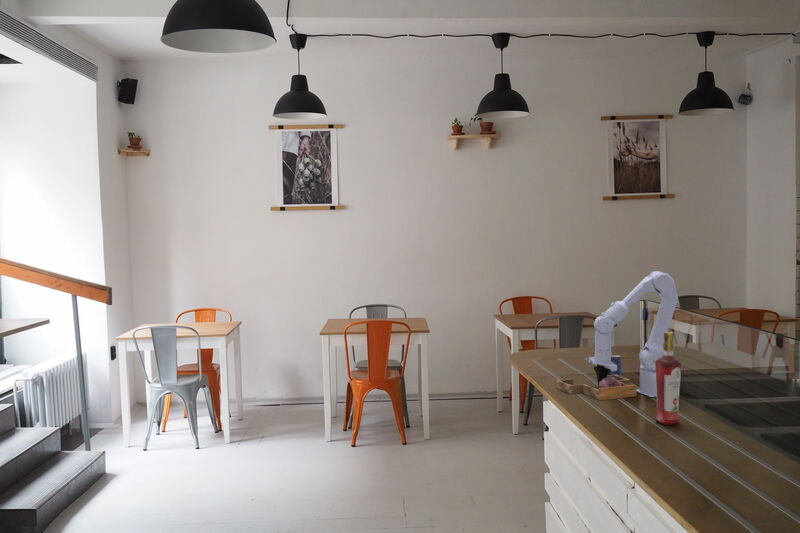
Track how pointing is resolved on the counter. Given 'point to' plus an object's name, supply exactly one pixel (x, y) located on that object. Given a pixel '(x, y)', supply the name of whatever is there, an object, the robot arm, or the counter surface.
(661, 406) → the liquor
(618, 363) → the flask
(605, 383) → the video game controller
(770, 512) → the counter surface
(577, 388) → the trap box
